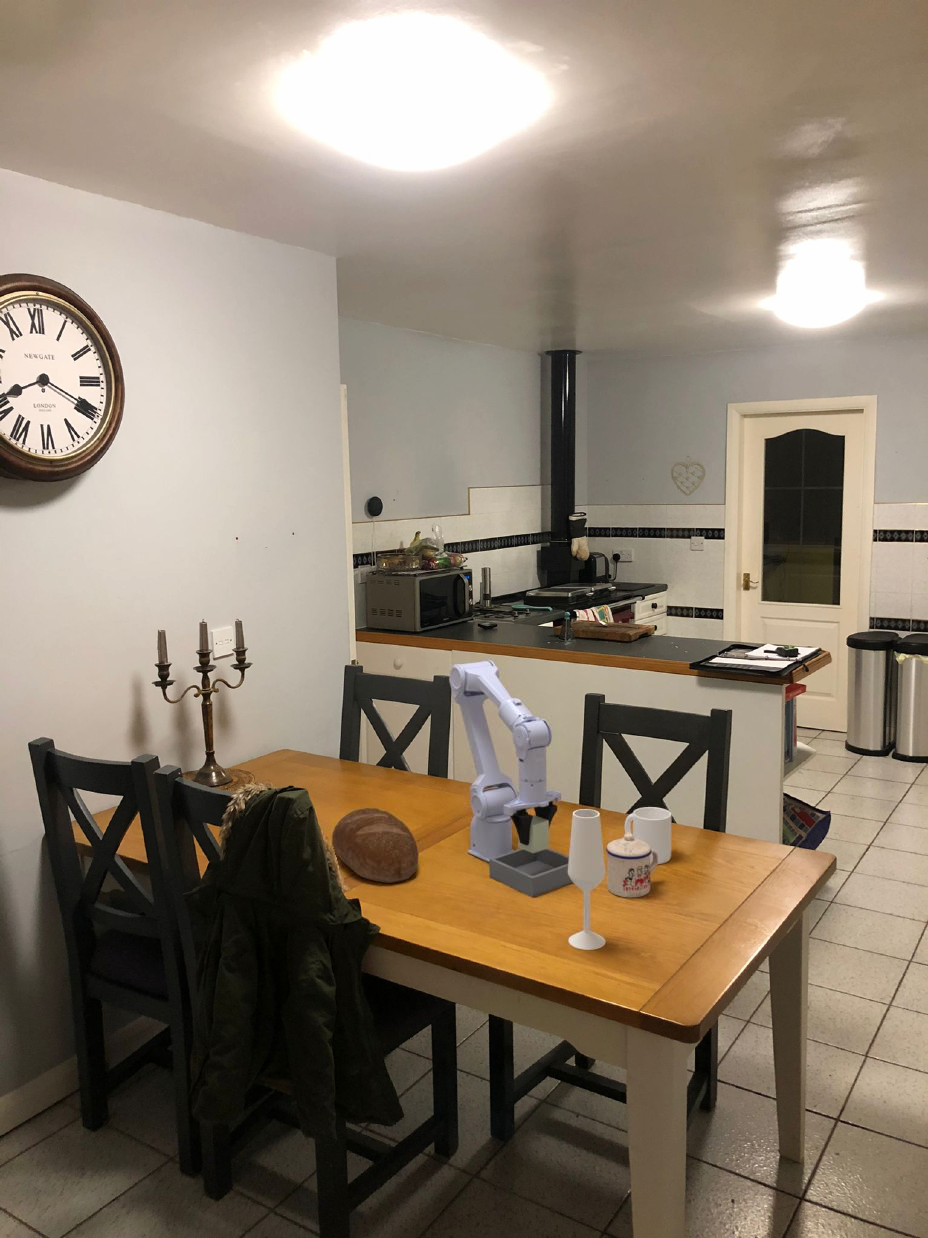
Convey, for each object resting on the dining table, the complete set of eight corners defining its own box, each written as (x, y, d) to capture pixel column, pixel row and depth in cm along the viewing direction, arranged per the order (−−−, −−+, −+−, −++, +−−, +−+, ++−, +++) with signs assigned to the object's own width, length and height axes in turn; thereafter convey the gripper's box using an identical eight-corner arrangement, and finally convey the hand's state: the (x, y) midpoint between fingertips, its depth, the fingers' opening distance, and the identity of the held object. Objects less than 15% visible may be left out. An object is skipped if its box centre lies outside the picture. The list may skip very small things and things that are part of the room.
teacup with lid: (625, 902, 188) (625, 846, 187) (597, 886, 196) (597, 832, 195) (671, 889, 194) (672, 834, 193) (642, 874, 202) (642, 821, 200)
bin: (489, 877, 202) (489, 859, 202) (536, 860, 210) (536, 843, 210) (532, 897, 192) (532, 878, 191) (580, 879, 200) (580, 861, 199)
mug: (613, 852, 214) (612, 808, 213) (638, 843, 219) (638, 800, 218) (653, 868, 205) (653, 822, 204) (679, 858, 210) (679, 813, 208)
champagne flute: (602, 932, 176) (601, 806, 173) (608, 949, 169) (608, 819, 166) (565, 933, 176) (564, 808, 173) (571, 950, 169) (570, 820, 166)
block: (518, 847, 200) (518, 819, 199) (534, 842, 203) (534, 815, 202) (532, 853, 197) (532, 825, 196) (548, 848, 199) (548, 820, 199)
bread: (366, 893, 196) (364, 840, 195) (319, 847, 222) (317, 800, 220) (434, 877, 203) (433, 826, 202) (381, 835, 229) (380, 789, 228)
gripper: (519, 789, 190) (519, 855, 192) (571, 775, 199) (571, 837, 201) (496, 781, 196) (497, 845, 198) (548, 768, 205) (548, 828, 206)
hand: (533, 840), depth 200 cm, fingers closed on block, 4 cm apart
